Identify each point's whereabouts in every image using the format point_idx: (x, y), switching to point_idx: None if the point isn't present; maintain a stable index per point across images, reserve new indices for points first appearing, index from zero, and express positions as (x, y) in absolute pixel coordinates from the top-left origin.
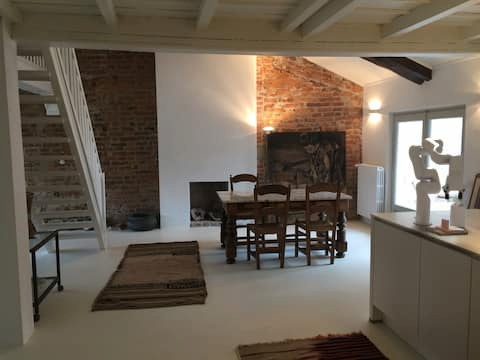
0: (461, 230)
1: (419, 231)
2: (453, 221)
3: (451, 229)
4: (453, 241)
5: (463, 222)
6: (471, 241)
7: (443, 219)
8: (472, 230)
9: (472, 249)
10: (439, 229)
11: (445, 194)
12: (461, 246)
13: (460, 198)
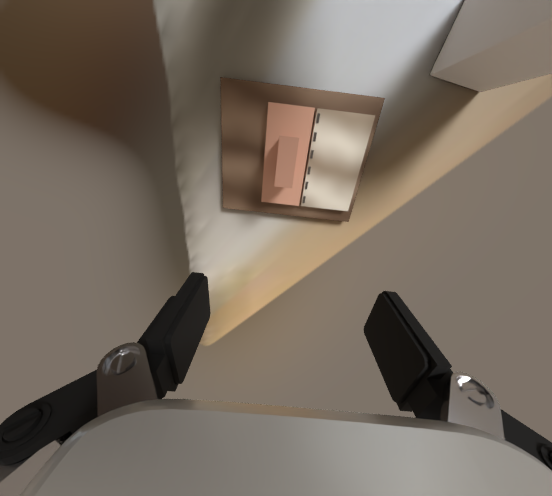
0: (331, 208)
1: (174, 103)
2: (469, 32)
3: (292, 194)
4: (215, 278)
5: (500, 82)
6: (269, 290)
7: (277, 156)
8: (438, 165)
9: (212, 337)
10: None
11: (144, 344)
12: None
13: (369, 329)
